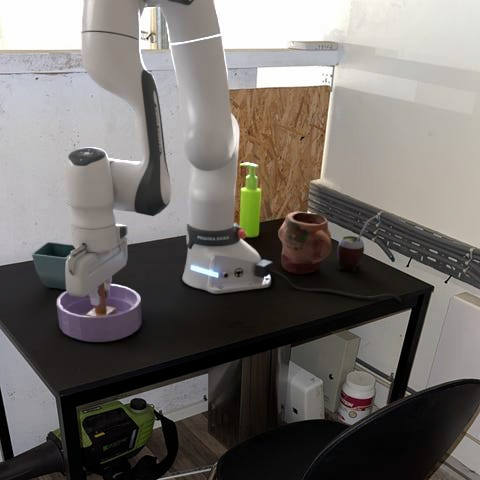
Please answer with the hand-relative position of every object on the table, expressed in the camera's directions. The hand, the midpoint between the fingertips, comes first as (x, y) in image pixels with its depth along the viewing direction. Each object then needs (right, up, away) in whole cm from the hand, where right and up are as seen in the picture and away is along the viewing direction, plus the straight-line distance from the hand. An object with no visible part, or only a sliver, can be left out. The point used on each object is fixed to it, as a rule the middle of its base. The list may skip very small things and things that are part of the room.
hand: (100, 300), depth 136 cm
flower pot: (-14, +8, +20) cm, 26 cm away
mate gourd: (+60, +16, +37) cm, 72 cm away
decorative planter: (+47, +15, +35) cm, 60 cm away
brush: (0, -4, +3) cm, 5 cm away
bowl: (-1, -5, +3) cm, 6 cm away
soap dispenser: (+32, +31, +57) cm, 73 cm away
